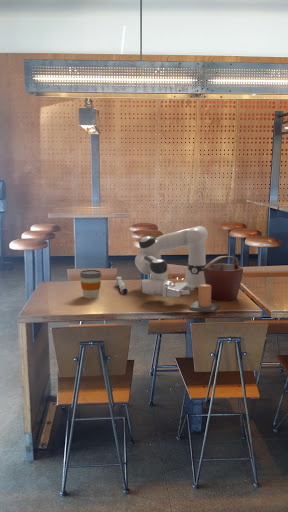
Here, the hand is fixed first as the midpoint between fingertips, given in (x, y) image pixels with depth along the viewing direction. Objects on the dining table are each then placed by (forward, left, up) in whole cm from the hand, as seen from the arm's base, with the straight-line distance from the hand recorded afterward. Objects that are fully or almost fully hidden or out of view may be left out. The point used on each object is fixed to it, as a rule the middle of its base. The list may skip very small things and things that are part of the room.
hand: (192, 290), depth 247 cm
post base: (0, +7, -9) cm, 11 cm away
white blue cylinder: (-22, -53, -10) cm, 58 cm away
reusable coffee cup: (+2, -62, -9) cm, 63 cm away
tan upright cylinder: (0, +7, -8) cm, 10 cm away
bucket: (-25, +12, -9) cm, 30 cm away
